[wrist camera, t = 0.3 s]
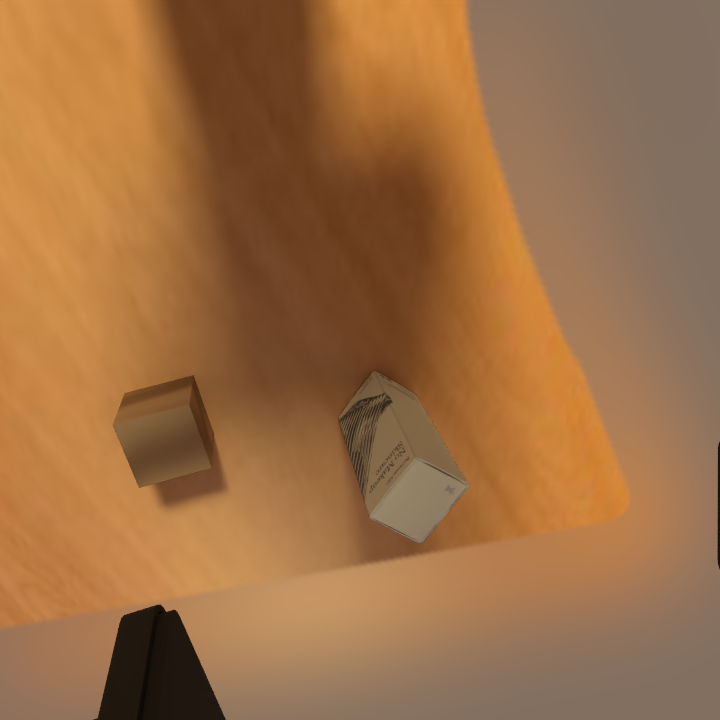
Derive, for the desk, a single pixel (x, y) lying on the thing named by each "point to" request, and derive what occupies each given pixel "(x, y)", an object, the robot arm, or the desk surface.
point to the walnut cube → (165, 431)
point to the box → (399, 459)
